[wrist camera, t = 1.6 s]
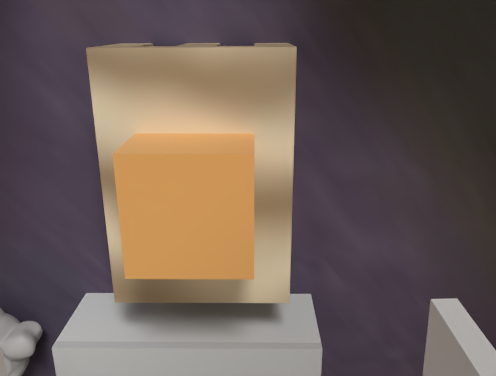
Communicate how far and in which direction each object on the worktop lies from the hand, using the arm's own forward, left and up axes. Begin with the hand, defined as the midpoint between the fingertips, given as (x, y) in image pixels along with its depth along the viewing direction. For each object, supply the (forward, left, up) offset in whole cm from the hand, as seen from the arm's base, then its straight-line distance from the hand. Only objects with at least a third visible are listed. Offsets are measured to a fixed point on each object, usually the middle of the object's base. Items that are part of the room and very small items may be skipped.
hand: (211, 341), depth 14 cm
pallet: (-1, -2, -17) cm, 17 cm away
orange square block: (-1, -2, -11) cm, 11 cm away
